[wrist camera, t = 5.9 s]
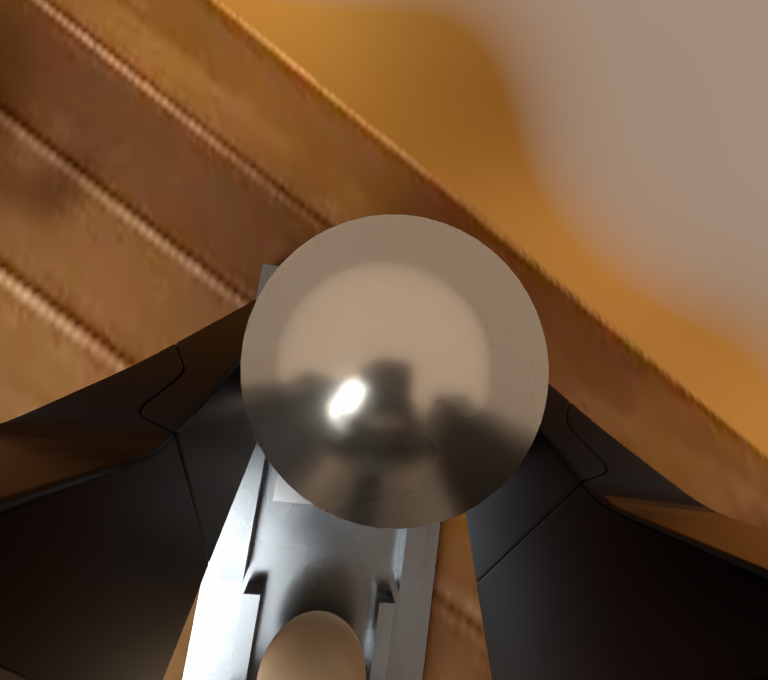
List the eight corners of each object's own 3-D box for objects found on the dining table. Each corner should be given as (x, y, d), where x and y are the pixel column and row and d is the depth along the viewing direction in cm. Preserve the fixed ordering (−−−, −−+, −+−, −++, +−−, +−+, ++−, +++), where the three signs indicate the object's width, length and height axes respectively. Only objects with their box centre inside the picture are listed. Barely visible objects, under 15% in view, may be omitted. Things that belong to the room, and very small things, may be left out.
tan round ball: (298, 712, 13) (286, 835, 10) (247, 630, 13) (216, 722, 10) (378, 647, 14) (394, 739, 10) (330, 569, 14) (328, 635, 10)
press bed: (405, 750, 14) (428, 866, 11) (175, 748, 13) (121, 877, 10) (458, 304, 17) (490, 285, 13) (267, 270, 16) (248, 240, 12)
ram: (400, 478, 14) (558, 717, 4) (276, 465, 14) (119, 707, 4) (420, 324, 15) (593, 219, 5) (304, 304, 15) (239, 141, 4)
